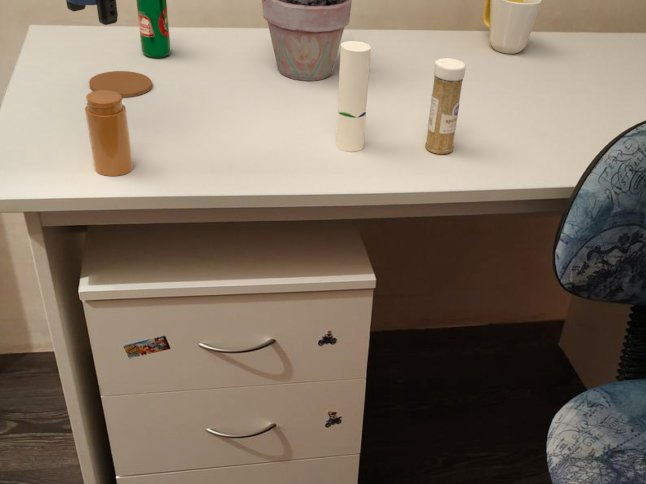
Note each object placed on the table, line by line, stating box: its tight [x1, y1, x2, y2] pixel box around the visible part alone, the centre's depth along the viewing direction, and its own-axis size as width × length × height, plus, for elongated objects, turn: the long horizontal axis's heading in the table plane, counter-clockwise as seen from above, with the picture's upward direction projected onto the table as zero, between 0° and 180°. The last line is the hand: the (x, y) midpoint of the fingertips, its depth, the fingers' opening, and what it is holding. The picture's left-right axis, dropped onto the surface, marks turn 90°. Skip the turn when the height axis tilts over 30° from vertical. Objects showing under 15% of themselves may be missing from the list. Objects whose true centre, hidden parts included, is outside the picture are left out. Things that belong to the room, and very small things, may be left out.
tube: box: [335, 40, 372, 153], centre depth 120 cm, size 4×4×15 cm
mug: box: [482, 0, 543, 55], centre depth 164 cm, size 14×10×10 cm
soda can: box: [135, 0, 172, 59], centre depth 142 cm, size 5×5×12 cm
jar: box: [84, 90, 134, 177], centre depth 109 cm, size 5×5×10 cm
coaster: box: [88, 70, 153, 98], centre depth 134 cm, size 10×10×1 cm
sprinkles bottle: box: [424, 57, 467, 155], centre depth 122 cm, size 5×5×13 cm
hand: (92, 15), depth 99 cm, fingers closed on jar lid, 5 cm apart
